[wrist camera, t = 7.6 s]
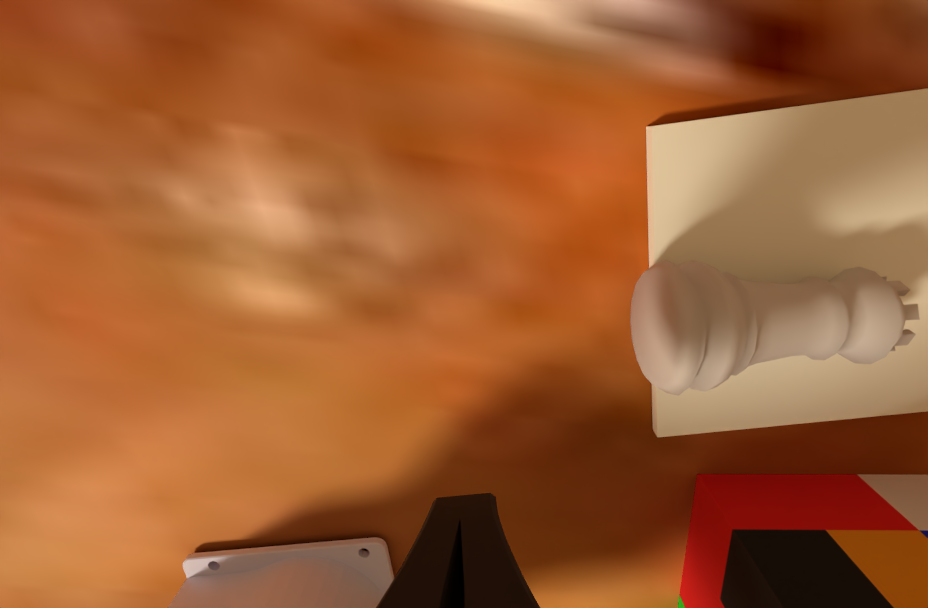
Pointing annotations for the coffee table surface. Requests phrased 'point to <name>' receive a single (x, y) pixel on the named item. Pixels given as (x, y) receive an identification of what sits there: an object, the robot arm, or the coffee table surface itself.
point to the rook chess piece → (758, 322)
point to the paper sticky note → (798, 243)
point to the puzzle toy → (807, 541)
